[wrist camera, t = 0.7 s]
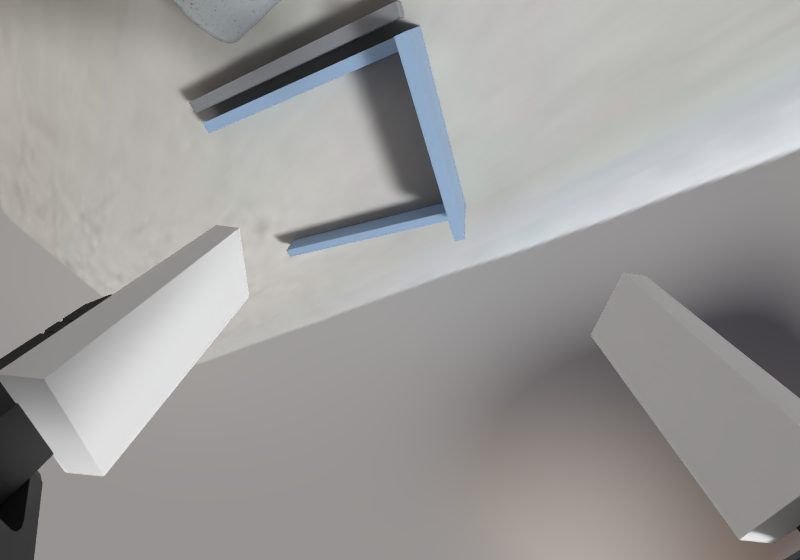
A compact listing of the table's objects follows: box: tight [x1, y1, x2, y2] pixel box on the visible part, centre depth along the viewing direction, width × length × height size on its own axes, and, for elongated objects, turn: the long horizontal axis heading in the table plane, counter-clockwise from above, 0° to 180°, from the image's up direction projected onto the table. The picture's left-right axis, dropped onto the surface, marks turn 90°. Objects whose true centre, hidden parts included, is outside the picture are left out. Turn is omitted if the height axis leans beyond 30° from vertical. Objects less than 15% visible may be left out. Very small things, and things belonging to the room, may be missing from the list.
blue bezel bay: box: [203, 26, 466, 257], centre depth 33 cm, size 23×17×7 cm
